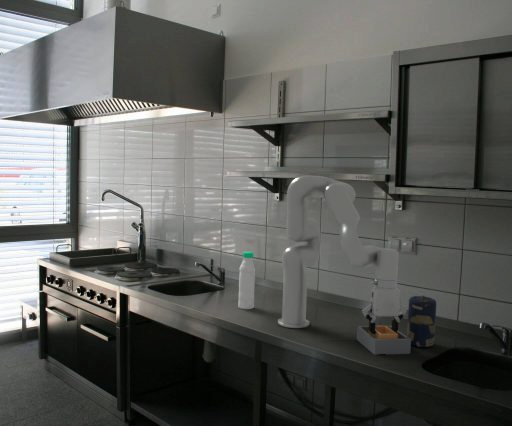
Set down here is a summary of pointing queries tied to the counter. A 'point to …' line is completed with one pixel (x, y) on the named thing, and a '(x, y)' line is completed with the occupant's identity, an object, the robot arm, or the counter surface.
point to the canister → (421, 321)
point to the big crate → (383, 342)
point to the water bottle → (246, 282)
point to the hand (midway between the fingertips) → (383, 332)
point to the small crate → (384, 333)
